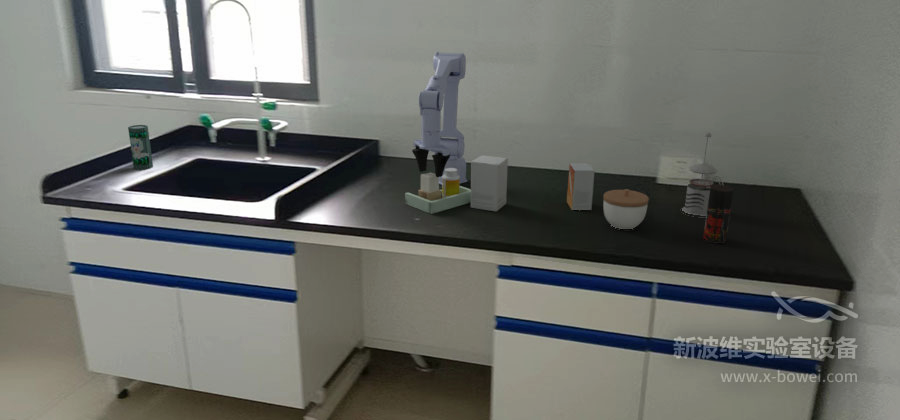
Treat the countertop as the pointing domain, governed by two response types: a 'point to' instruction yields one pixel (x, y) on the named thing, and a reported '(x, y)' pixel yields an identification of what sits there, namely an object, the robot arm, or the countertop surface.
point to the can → (140, 147)
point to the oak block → (430, 195)
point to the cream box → (429, 182)
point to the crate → (439, 201)
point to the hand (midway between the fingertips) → (430, 173)
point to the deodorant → (718, 213)
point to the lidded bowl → (625, 208)
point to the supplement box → (488, 182)
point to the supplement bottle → (450, 182)
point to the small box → (580, 186)
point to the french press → (697, 185)
